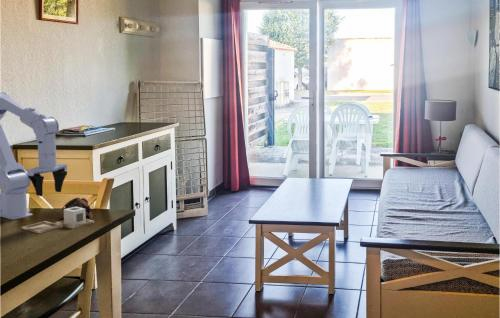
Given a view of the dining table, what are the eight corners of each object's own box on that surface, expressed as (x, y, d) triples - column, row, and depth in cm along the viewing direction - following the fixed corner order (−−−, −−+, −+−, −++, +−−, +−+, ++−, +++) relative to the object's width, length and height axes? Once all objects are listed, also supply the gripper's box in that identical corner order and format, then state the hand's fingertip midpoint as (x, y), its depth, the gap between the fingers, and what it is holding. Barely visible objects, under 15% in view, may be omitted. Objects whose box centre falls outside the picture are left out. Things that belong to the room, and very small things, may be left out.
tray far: (55, 225, 210) (55, 222, 209) (76, 219, 217) (76, 216, 217) (73, 229, 204) (72, 226, 204) (94, 223, 212) (94, 220, 212)
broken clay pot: (91, 223, 215) (78, 204, 212) (68, 233, 217) (55, 214, 214) (100, 206, 226) (87, 188, 223) (78, 216, 228) (65, 198, 225)
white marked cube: (64, 223, 210) (63, 209, 209) (76, 220, 214) (75, 206, 213) (74, 226, 207) (73, 211, 206) (86, 223, 211) (85, 208, 210)
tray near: (21, 229, 204) (21, 226, 204) (45, 223, 211) (44, 221, 211) (39, 234, 199) (39, 231, 198) (62, 228, 206) (62, 225, 206)
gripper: (36, 157, 201) (38, 199, 204) (72, 152, 213) (74, 191, 215) (22, 155, 205) (24, 196, 208) (59, 150, 217) (60, 188, 219)
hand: (49, 193), depth 212 cm, fingers open, 7 cm apart
